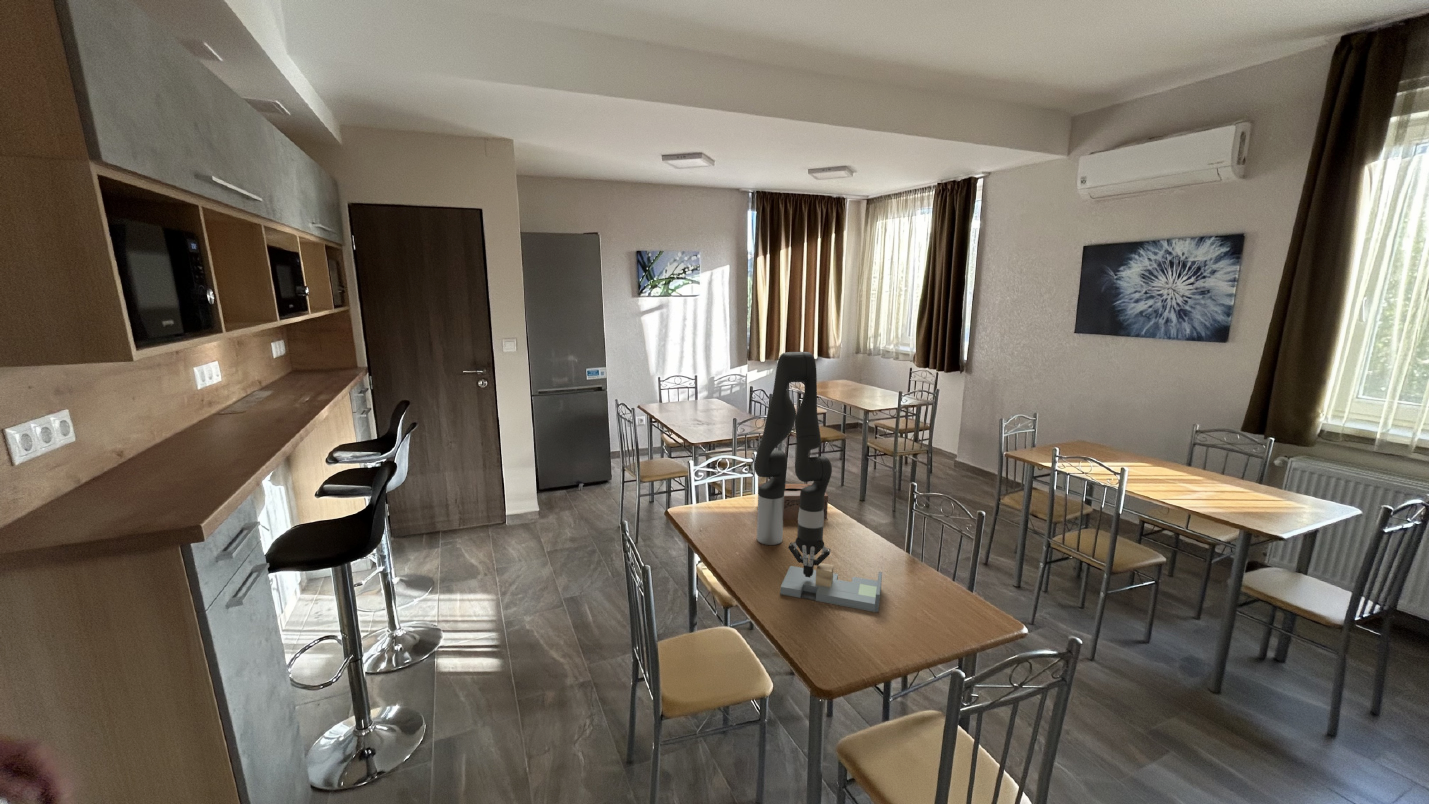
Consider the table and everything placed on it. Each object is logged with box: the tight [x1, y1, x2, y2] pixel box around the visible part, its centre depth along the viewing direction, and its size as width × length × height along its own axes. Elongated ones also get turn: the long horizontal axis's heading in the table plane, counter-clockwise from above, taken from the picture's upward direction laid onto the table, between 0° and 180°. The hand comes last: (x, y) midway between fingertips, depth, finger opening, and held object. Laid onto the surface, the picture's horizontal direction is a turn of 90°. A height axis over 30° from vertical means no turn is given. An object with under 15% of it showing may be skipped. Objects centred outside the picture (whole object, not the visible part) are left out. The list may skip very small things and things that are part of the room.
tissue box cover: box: [758, 483, 829, 520], centre depth 229 cm, size 26×14×10 cm, turn 93°
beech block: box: [815, 562, 835, 588], centre depth 169 cm, size 4×4×5 cm
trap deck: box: [779, 565, 883, 613], centre depth 169 cm, size 14×28×5 cm, turn 71°
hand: (808, 575), depth 171 cm, fingers closed
